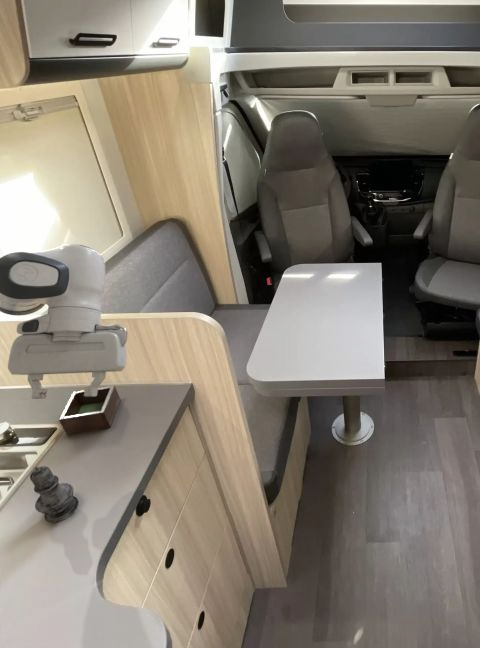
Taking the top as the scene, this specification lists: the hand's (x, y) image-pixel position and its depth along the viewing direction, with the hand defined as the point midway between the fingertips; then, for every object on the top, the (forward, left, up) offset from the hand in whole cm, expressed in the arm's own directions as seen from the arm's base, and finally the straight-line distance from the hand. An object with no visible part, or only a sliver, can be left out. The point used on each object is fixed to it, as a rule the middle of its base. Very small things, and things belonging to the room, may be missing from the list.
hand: (64, 397), depth 84 cm
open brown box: (-3, +12, -17) cm, 20 cm away
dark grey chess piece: (-2, -12, -17) cm, 21 cm away
